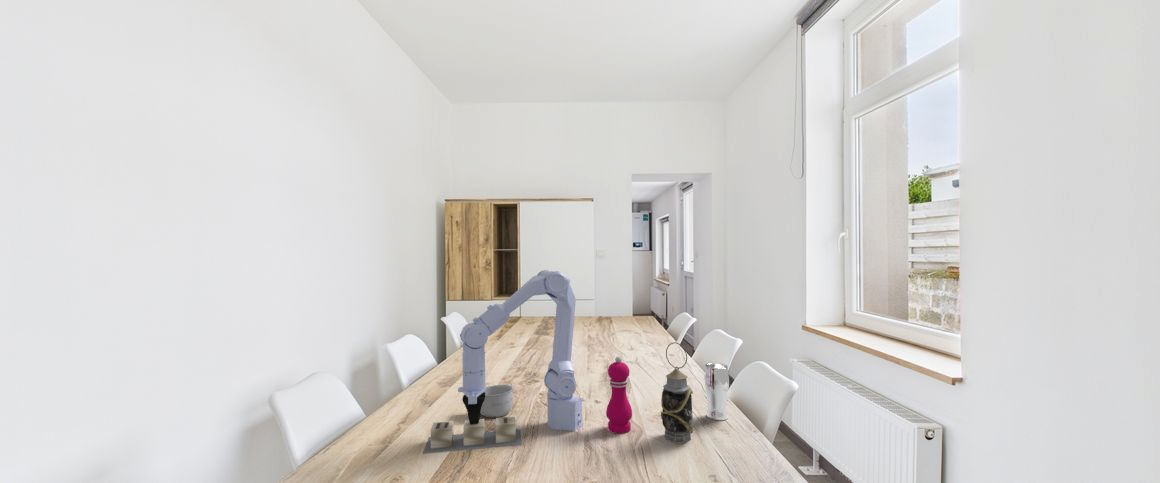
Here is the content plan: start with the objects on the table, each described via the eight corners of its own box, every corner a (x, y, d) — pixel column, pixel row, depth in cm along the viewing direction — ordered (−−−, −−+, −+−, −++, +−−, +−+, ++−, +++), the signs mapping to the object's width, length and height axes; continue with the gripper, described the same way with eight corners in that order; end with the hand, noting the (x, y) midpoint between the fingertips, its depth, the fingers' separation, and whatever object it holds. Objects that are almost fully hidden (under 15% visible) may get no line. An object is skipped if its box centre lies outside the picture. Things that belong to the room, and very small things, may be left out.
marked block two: (453, 438, 118) (453, 420, 118) (451, 446, 113) (451, 428, 113) (433, 440, 117) (433, 422, 118) (430, 448, 112) (430, 429, 113)
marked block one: (515, 433, 121) (514, 416, 121) (515, 441, 116) (515, 423, 116) (496, 435, 120) (495, 417, 120) (495, 442, 115) (495, 424, 115)
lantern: (700, 438, 118) (698, 342, 119) (681, 447, 113) (680, 347, 113) (673, 429, 125) (671, 338, 125) (654, 437, 119) (653, 342, 120)
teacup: (493, 425, 129) (493, 397, 130) (469, 417, 136) (469, 390, 136) (527, 411, 140) (527, 385, 141) (503, 404, 147) (503, 379, 147)
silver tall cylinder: (726, 412, 137) (725, 363, 137) (732, 421, 130) (731, 369, 130) (703, 412, 137) (702, 362, 138) (707, 420, 131) (706, 368, 131)
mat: (520, 432, 124) (520, 429, 124) (522, 448, 114) (522, 444, 114) (429, 439, 120) (429, 436, 120) (422, 456, 110) (422, 453, 110)
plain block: (484, 436, 120) (484, 418, 120) (484, 443, 115) (483, 426, 115) (465, 437, 119) (465, 420, 119) (463, 445, 114) (463, 427, 114)
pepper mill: (631, 435, 121) (630, 360, 121) (604, 433, 122) (603, 359, 123) (633, 425, 128) (632, 354, 128) (608, 423, 130) (607, 353, 130)
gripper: (460, 364, 124) (460, 414, 123) (455, 379, 109) (455, 435, 109) (486, 362, 125) (487, 412, 125) (485, 377, 111) (485, 433, 110)
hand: (474, 423), depth 117 cm, fingers closed, pressing on plain block
